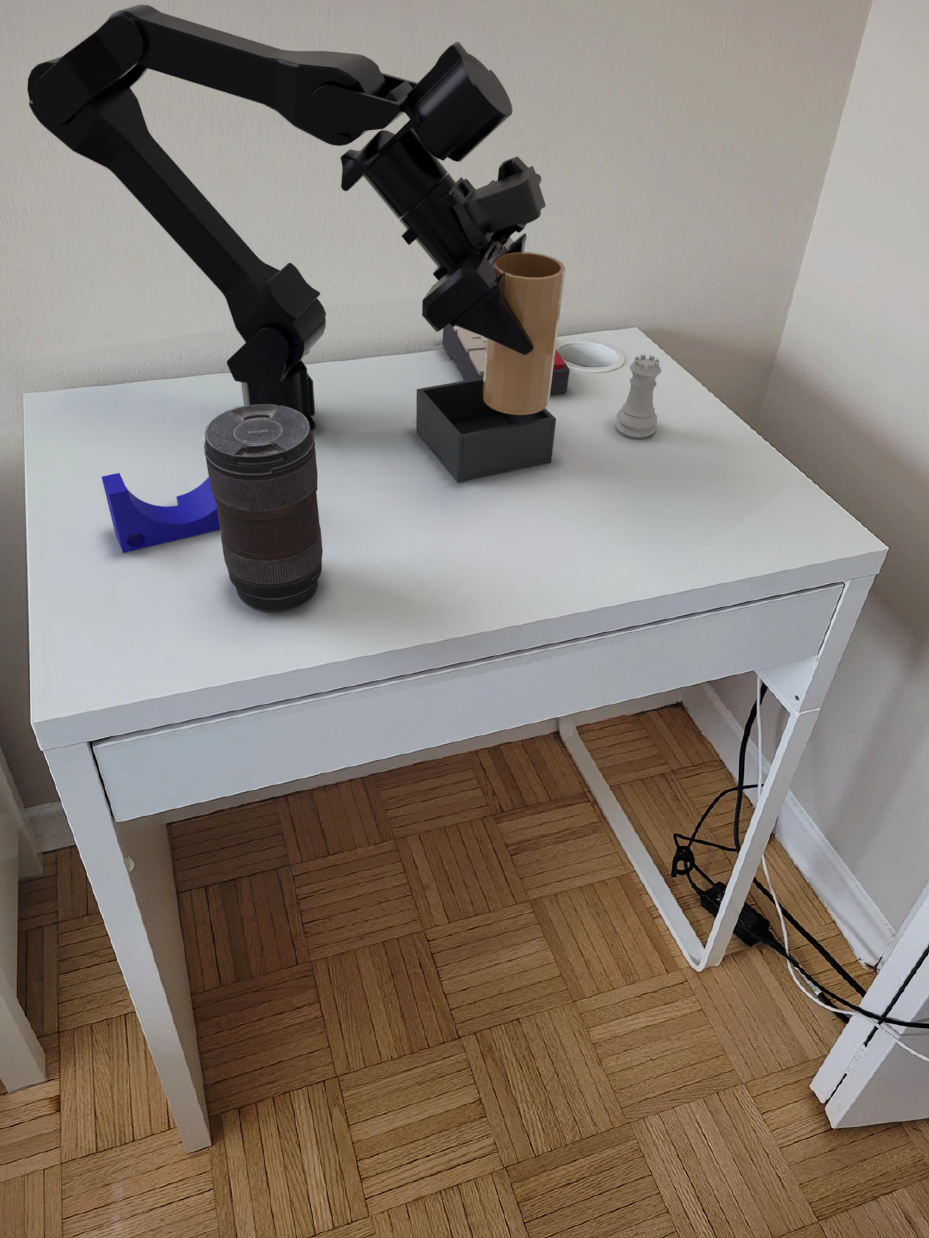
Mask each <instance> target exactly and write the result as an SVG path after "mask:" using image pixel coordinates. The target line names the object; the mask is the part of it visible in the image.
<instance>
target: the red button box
mask: <svg viewBox="0 0 929 1238" xmlns="http://www.w3.org/2000/svg"><path fill="white" fill-rule="evenodd" d="M442 346H443V348H444V350H445V352H446V354H447V356H448V357H449V358H450V359H452V360H453V362H454V364H455V366H456V368H457V370H458V372H459V373H460V375H461V378H462V380H463V381H466V380H471V379H477V378H483V377H484V365H485V351H486V337H484V336H481V335H479V334H476V333H473V332H471V331H468V330H466V329H463V328H461V327H458V326H454V327H451V326H449V325H446V326H445V327H444V328H443V329H442ZM569 377H570V368H569V366H568V365H567V363H566V362H565V360H564V359H563V358H562V356H561V355H560V353H559V352H558V350H557V349H555V357H554V365H553V374H552V382H551V390H550V396H551V395H560V394H566V393H567V391H568V385H569Z"/></svg>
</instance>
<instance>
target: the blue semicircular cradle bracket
mask: <svg viewBox="0 0 929 1238" xmlns="http://www.w3.org/2000/svg"><path fill="white" fill-rule="evenodd" d="M101 482H102V485H103V489H104V494H105V497H106V502H107V507H108V510H109V514H110V518H111V522H112V526H113V530H114V534H115V536H116V539H117V542H118V544H119V547H120V550H121V551H122V553H123V554H125V553H129V552H133V551H137V550H141V549H142V550H143V549H146V548H150V547H153V546H157V545H162V544H166V543H171V542H174V541H180V540H183V539H187V538H192V537H195V536H201V535H203V534H208V533H212V532H216V531H220V525H219V519H218V513H217V506H216V502H215V499H214V496H213V493H212V490H211V486H210V480H209V476H208V477H207V478H206V479H205V480H204V481H203V482H202V483H201V484H200V485H198V486H197V487H195V488H194V489H192V490H190V491H188V492H186V493H183V494H180V495H176V496H175V498H176V504H177V505H172V506H171V505H170V506H169V505H168V506H165V505H164V506H163V505H155V504H152V503H150V502H149V503H148V502H146V501H144V500H141V499H140V498H138V497H137V496H135V495H134V494H133V493H132V492H131V491H130V490H129V488H128V487H127V486H126V484H125V482H124V479H123V478H122V475H121V473H120V472H117V473H112V474H107V475H102V476H101Z"/></svg>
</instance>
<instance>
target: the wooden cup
mask: <svg viewBox="0 0 929 1238" xmlns="http://www.w3.org/2000/svg"><path fill="white" fill-rule="evenodd" d="M492 266H493V269H494V271H495V274H496V277H497V278H498V277H499V276H500V275H501V274H502V273H504V272H505V290H504V296H505V299H506V300H507V302H508V304H509V305H510V307H511V309H512V310H513V312H514V313H515V315H516V317H517V318H518V320H519V321H520V323H521V325H522V326H523V328H524V330H525V331H526V333H527V335H528V336H529V338H530V340H531V342H532V344H533V346H534V349H533V350H532V351H531V352H530V353H528V354H527V355H523V354H521V353H519V352H516V351H514V350H512V349H510V348H508V347H506V346H503V345H501V344H499V343H497V342H495V341H493V340H490V339H488V338H486V351H485V365H484V379H483V400H484V402H485V403H486V404H487V405H488V406H489V407H491V408H492V409H494V410H496V411H499V412H502V413H506V414H512V415H528V414H533V413H537V412H539V411H541V410H543V409H547V406H548V405H549V403H550V397H551V395H550V390H551V382H552V374H553V365H554V357H555V349H556V348H557V342H558V341H557V339H558V332H559V323H560V316H561V306H562V300H563V292H564V291H563V290H564V283H565V276H566V267H565V265H564V263H563V262H562V261H561V260H559V259H557V258H555V257H552V256H549V255H546V254H543V253H537V252H532V251H531V252H529V251H524V252H514V253H507V254H503V255H500V256H498V257H496V258H495V259H494V260H493V261H492ZM556 350H557V349H556Z"/></svg>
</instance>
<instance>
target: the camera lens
mask: <svg viewBox="0 0 929 1238" xmlns="http://www.w3.org/2000/svg"><path fill="white" fill-rule="evenodd" d="M203 449H204V450H203V451H204V456H205V460H206V468H207V475H208V477H209V480H210V486H211V490H212V493H213V496H214V499H215V502H216V506H217V513H218V519H219V525H220V530H219V531H220V541H221V546H222V554H223V559H224V563H225V566H226V569H227V572H228V576H229V580H230V582H231V583H232V585H233V586H234V587H235V590H236V593H237V596H238V597H239V599H240V600H241V601H242V603H244V604H245V605H247V606H248V607H250V608H253V609H255V610H258V611H263V612H271V613H273V612H275V613H276V612H285V611H291V610H294V609H297V608H299V607H301V606H303V605H305V604H307V603H308V602H309V601H310V600H311V599H312V598H313V597H314V596H315V594H316V592H317V590H318V586H319V583H318V582H319V579H320V576H321V574H322V571H323V552H324V550H323V538H322V529H321V525H320V515H319V514H320V513H319V504H318V495H317V492H318V476H319V475H318V474H319V473H318V465H317V451H316V442H315V436H314V433H313V432H312V430H311V429H310V424H309V422H308V420H307V418H306V417H305V416H304V415H303V414H302V413H300V412H299V411H296V410H294V409H292V408H289V407H285V406H278V405H275V404H258V405H249V406H244V405H243V406H239V407H235V408H232V409H230V410H227V411H224V412H222V413H220V414H219V415H217V416H215V417H214V418H213V419H212V420H211V421H210V422H209V423H208V424H207V426H206V428H205V432H204V444H203Z"/></svg>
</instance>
